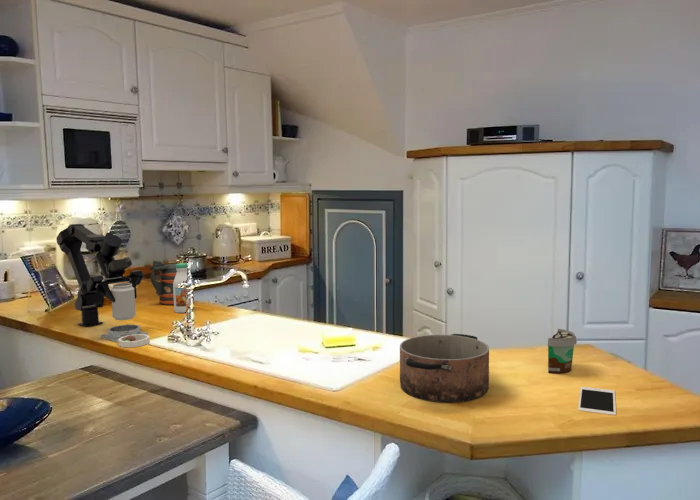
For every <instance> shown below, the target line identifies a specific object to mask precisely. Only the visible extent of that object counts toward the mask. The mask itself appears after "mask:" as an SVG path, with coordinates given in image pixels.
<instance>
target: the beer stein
mask: <svg viewBox="0 0 700 500" xmlns="http://www.w3.org/2000/svg"><path fill="white" fill-rule="evenodd" d="M176 264H177V263H168V264H164V263H163V262H161V261H158V260H153V262H152V266H149V270H150V271H151V274H150V281H151V285H152V286H153V288H154V289H155V293H156V294H157V296H158V300H159V303H160V304H161V305H167V306H168V305H170V306H174V295H173V282H174V279H175V276H176V273H177V269H176ZM159 271H160V276H159V278H160V279H159V281H157V280H156V273H158V272H159Z"/></svg>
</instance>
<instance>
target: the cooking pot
mask: <svg viewBox="0 0 700 500" xmlns="http://www.w3.org/2000/svg"><path fill="white" fill-rule="evenodd" d="M399 384H400V388H401V389H402V390H403V392H405V393H406V394H407V395H409V396H411V397H414V398H416V399H420V400H423V401H429V402H434V403H445V404H446V403H448V404H449V403H451V404H452V403H453V404H454V403H462V402H463V403H464V402H465V403H466V402H470V401H474V400H476V399H479V398H482V397H483V396H484V395H486V394H487V393H488V390H489V388H490V386H489V385H490V347H489V346H488V344H486V343H485V342H484V341H481V340H478V336H475V335H470V334H462V333H452V334H425V335H418V336H414V337H410V338H407V339H404V340H403V341H402V342H401V343H400V345H399Z"/></svg>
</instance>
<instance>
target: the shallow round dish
mask: <svg viewBox="0 0 700 500" xmlns="http://www.w3.org/2000/svg"><path fill="white" fill-rule="evenodd" d="M127 336H130V335H127ZM127 336H123V337H121V338H119V339H118V342H119V343H118V342H117V343H118V347H120V346H121V348H136V347H137V348H138V347H142V346H146V345H148V344H150V343H151V340H150V335H149V334H148V335H145V334H134V335H132V336H134V337H135V339H136V340H135V341H124V340H126V337H127ZM149 342H150V343H149Z"/></svg>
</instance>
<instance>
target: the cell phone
mask: <svg viewBox="0 0 700 500" xmlns="http://www.w3.org/2000/svg"><path fill="white" fill-rule="evenodd" d="M579 391H580V392H579V399H578V406H577V407H578V408H577V410H578V412H579V411H580V412H586V413H594V414H601V415H607V416H608V415H609V416H617V412H616V411H617V408H616V405H617V404H616V391H615V390H613V389H607V388H606V389H605V388H597V387H588V386H580V390H579Z"/></svg>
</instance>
